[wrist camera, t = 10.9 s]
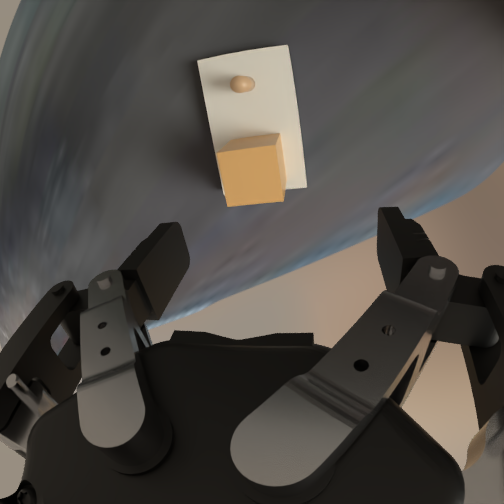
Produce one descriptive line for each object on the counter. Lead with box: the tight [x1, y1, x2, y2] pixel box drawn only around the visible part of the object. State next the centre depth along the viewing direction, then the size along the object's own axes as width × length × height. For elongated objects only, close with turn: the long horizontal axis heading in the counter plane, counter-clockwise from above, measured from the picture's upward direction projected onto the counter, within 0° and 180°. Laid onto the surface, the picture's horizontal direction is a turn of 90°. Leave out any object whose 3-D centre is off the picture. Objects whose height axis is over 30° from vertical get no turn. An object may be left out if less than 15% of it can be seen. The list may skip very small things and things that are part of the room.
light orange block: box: [216, 133, 287, 207], centre depth 28 cm, size 5×5×6 cm
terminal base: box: [197, 45, 307, 195], centre depth 27 cm, size 9×15×6 cm, turn 9°
